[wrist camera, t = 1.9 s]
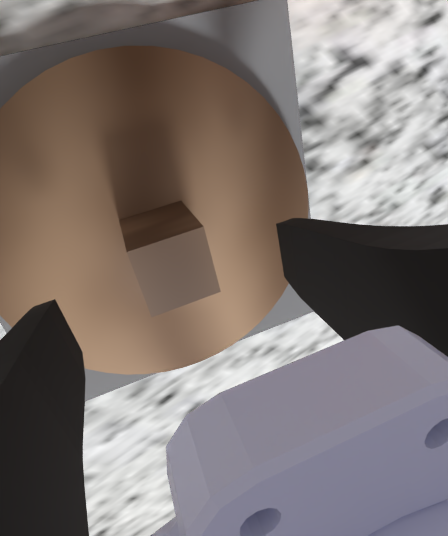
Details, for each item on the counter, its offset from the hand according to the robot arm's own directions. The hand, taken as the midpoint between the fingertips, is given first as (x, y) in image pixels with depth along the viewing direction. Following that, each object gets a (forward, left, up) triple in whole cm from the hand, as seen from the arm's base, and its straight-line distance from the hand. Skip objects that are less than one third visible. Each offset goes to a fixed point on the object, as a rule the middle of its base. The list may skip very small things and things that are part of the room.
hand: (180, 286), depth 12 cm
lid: (0, 0, -5) cm, 5 cm away
